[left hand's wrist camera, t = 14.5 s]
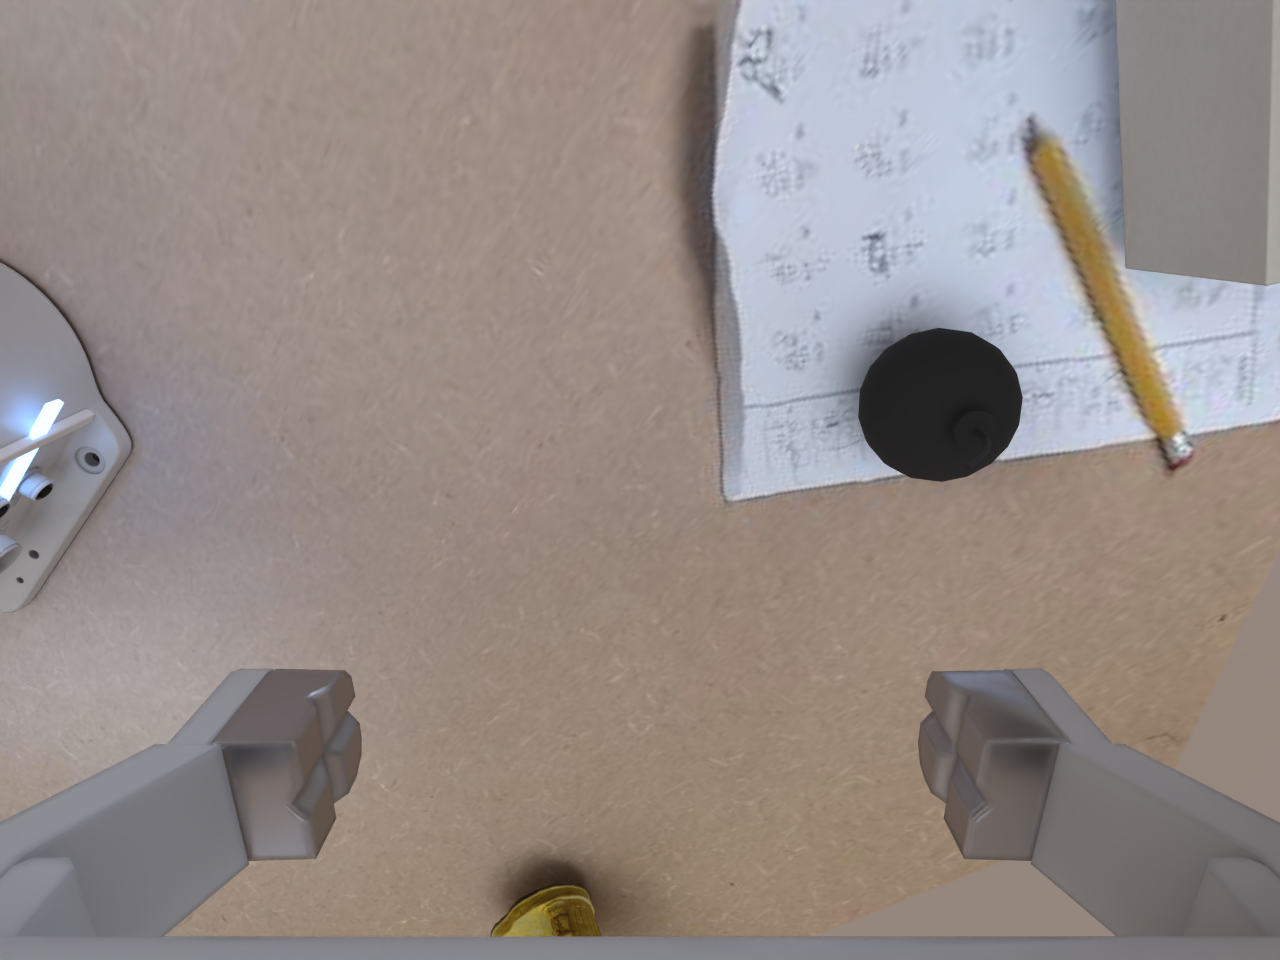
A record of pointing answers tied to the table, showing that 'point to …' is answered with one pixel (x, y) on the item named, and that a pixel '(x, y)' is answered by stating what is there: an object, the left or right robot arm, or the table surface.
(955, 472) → the bomb
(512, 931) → the shrine
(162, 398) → the table surface
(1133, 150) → the bar
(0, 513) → the left robot arm
